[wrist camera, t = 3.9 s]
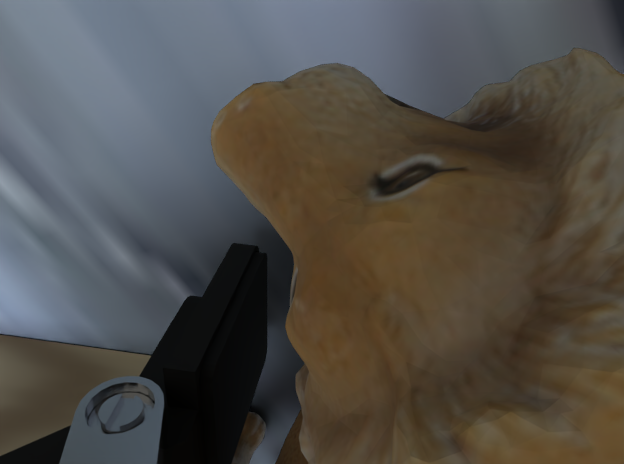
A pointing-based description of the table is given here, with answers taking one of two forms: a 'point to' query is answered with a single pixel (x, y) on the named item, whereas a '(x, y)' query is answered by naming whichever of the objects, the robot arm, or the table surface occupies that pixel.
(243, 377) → the robot arm
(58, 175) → the table surface
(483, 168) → the lion figurine
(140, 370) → the oak base brick
